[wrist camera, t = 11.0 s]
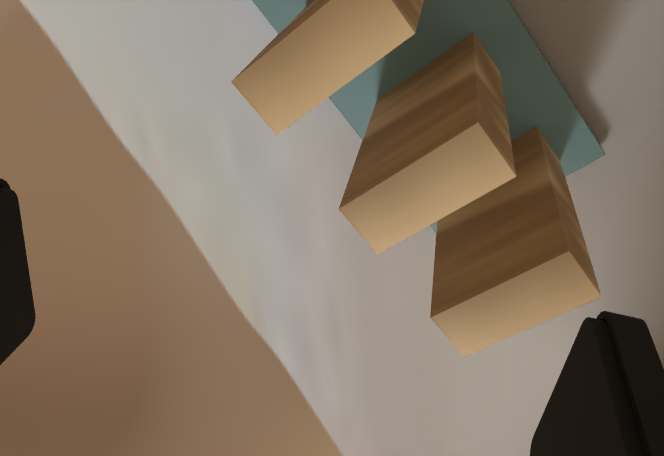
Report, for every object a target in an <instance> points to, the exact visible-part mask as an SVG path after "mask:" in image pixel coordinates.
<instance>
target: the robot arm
mask: <svg viewBox="0 0 664 456" xmlns="http://www.w3.org/2000/svg"><path fill="white" fill-rule="evenodd" d="M34 323H35V309H34V303H33V296H32V289H31V282H30V276H29V269H28V262H27V256H26V249H25V242H24V235H23V229H22V222H21V215H20V209H19V202H18V197H17V195H16V193H15V192H14V191H12V190H11V189H10V186H9V185H8V183H7V182H6V181H5V180H3V179H0V365H1V364H2V363H3V362H4V361H5V360H6V358H7V357H9V356H10V354H11V353H12V352H13V351H14V350H15V349H16V348H17V347H18V346H19V345H20V344H21V343H22V342H23V341H24V340H25V339H26V338H27V337H28V335H29V334H30V333H31V331H32V329H33V326H34ZM530 456H664V369H663V366H662V364H661V361H660V358H659V356H658V353H657V351H656V348H655V345H654V343H653V340H652V337H651V335H650V332H649V330H648V327H647V325H646V323H645V321H644V320H642V319H639V318H634V317H630V316H625V315H620V314H616V313H611V312H607V311H603V312H601V313H600V314H599V315H598V317H597V318H596V319H594V318H590V317H588V318H586V319H585V320H584V321H583V323H582V325H581V328H580V330H579V332H578V335H577V337H576V339H575V341H574V344H573V346H572V348H571V351H570V353H569V355H568V358H567V360H566V362H565V365H564V367H563V369H562V371H561V374H560V376H559V378H558V381H557V383H556V385H555V388H554V390H553V392H552V395H551V397H550V399H549V402H548V404H547V406H546V408H545V411H544V413H543V415H542V418H541V420H540V422H539V425H538V427H537V429H536V432H535V434H534V436H533V439H532V443H531V449H530Z"/></svg>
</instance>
